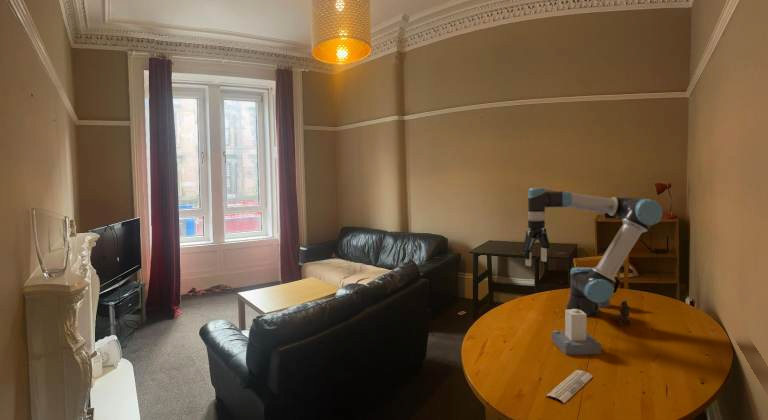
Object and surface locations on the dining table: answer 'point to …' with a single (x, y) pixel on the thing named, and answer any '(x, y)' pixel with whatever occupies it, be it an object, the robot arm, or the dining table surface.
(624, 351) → the dining table surface
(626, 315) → the dark figurine
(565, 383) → the newspaper
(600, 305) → the coffeepot
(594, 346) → the base plate
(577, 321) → the tower brick
